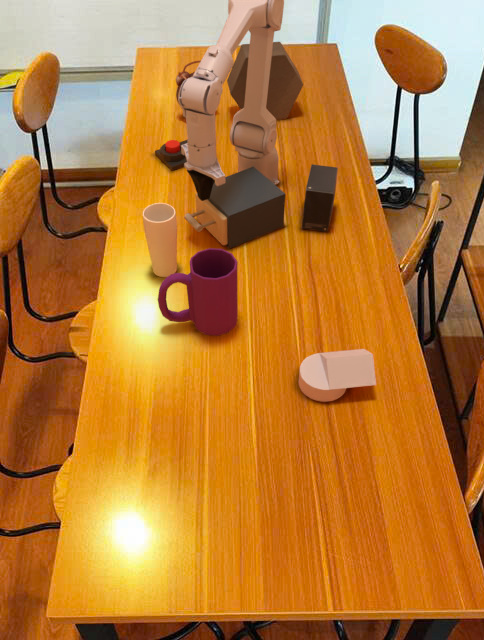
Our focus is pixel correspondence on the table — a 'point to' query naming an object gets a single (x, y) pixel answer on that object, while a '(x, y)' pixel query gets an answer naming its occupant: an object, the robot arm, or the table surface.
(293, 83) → the dark hexagonal block
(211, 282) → the mug
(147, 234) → the drinking glass
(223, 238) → the drawer
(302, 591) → the table surface
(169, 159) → the control block
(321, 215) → the small box
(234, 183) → the drawer cabinet
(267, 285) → the table surface
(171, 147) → the button
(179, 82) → the alarm clock
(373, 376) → the wedge on round base
